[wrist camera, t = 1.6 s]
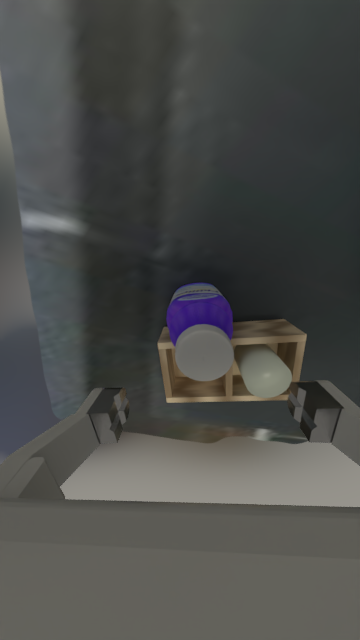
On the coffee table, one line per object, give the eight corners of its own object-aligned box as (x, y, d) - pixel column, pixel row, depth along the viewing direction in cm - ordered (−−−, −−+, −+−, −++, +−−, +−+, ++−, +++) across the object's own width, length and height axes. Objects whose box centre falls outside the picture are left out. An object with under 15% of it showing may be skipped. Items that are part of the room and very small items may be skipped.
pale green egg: (270, 336, 28) (294, 360, 22) (268, 366, 30) (289, 397, 24) (233, 338, 29) (246, 362, 22) (233, 368, 31) (244, 398, 24)
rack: (283, 318, 28) (306, 334, 22) (277, 374, 32) (295, 399, 26) (163, 327, 30) (157, 343, 24) (171, 378, 34) (167, 402, 28)
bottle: (218, 278, 27) (259, 313, 10) (219, 313, 28) (257, 388, 12) (172, 284, 27) (142, 324, 11) (176, 317, 29) (157, 394, 13)
